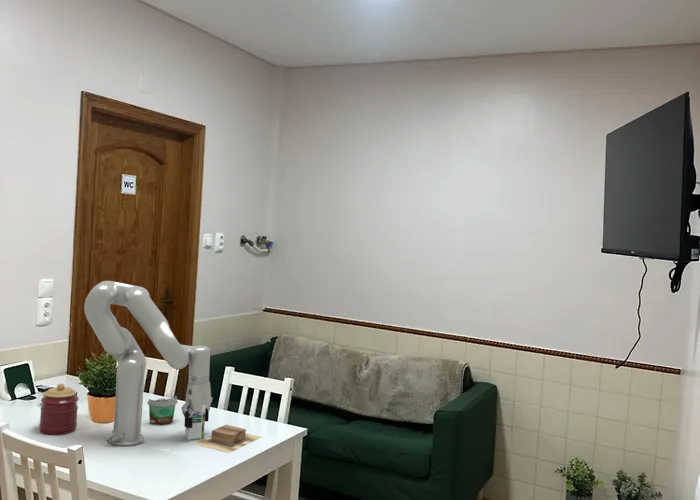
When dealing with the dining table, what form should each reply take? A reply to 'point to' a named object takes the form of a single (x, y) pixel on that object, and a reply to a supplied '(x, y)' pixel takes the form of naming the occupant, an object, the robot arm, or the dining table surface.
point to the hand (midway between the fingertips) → (196, 424)
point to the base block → (228, 435)
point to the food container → (162, 411)
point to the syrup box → (196, 425)
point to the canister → (59, 411)
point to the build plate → (224, 447)
